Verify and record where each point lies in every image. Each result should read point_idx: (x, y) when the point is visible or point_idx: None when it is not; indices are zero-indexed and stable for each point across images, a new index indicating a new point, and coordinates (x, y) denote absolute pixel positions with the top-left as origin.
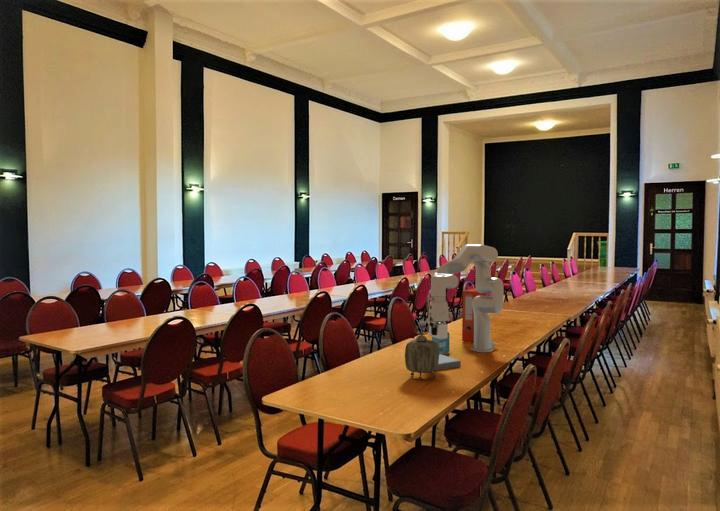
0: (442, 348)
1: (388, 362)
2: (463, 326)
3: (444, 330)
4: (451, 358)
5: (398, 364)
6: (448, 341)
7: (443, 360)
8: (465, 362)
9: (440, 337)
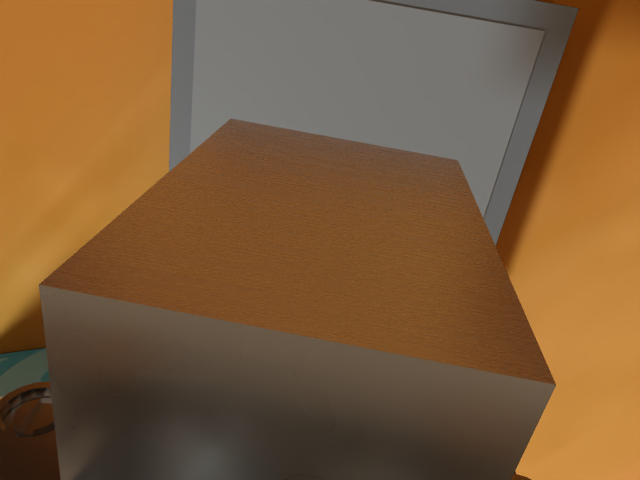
0: (44, 380)
1: (587, 457)
2: None
3: (287, 202)
4: (201, 87)
5: (588, 380)
6: None
7: (343, 84)
8: (45, 35)
9: (437, 163)
